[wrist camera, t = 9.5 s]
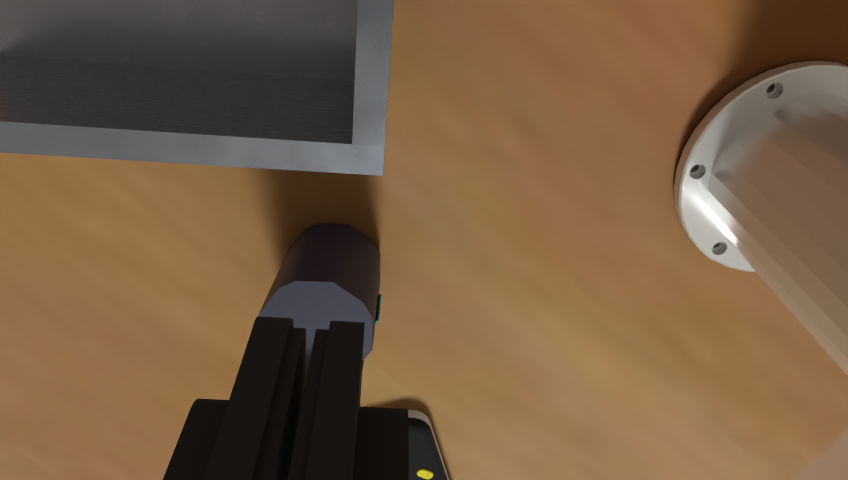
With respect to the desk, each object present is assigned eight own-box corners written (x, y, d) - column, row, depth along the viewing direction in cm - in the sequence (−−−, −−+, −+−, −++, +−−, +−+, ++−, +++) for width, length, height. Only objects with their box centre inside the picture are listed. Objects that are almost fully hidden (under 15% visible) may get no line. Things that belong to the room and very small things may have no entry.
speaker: (382, 328, 43) (370, 438, 33) (290, 323, 43) (253, 432, 33) (387, 216, 40) (376, 303, 30) (288, 211, 40) (246, 296, 30)
